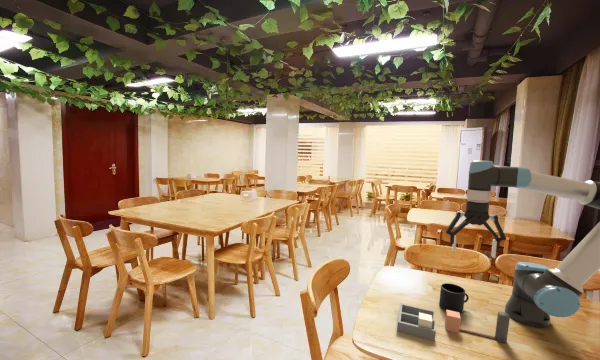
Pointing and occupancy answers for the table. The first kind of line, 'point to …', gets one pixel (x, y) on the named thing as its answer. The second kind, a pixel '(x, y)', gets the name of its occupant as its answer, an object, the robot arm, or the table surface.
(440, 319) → the table surface
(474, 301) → the table surface
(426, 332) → the lane shelf
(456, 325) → the block
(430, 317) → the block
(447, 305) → the mug
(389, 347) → the table surface
